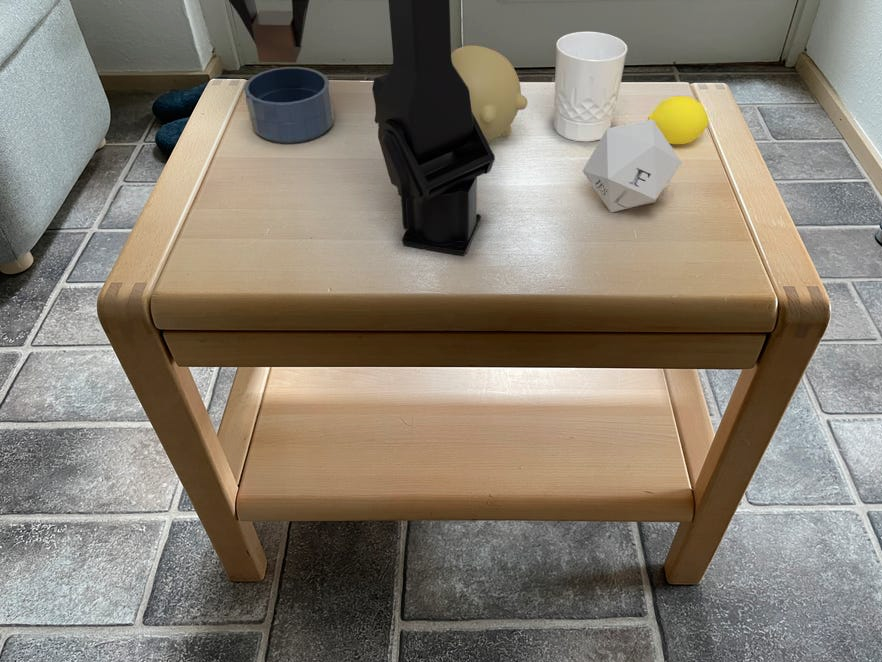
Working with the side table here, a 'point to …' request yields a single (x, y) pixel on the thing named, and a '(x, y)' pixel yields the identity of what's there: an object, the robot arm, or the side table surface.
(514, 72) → the toy pig
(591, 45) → the white cup
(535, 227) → the side table surface
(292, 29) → the block
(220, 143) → the side table surface
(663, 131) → the lemon
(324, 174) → the side table surface
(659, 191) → the die
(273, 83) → the bowl
